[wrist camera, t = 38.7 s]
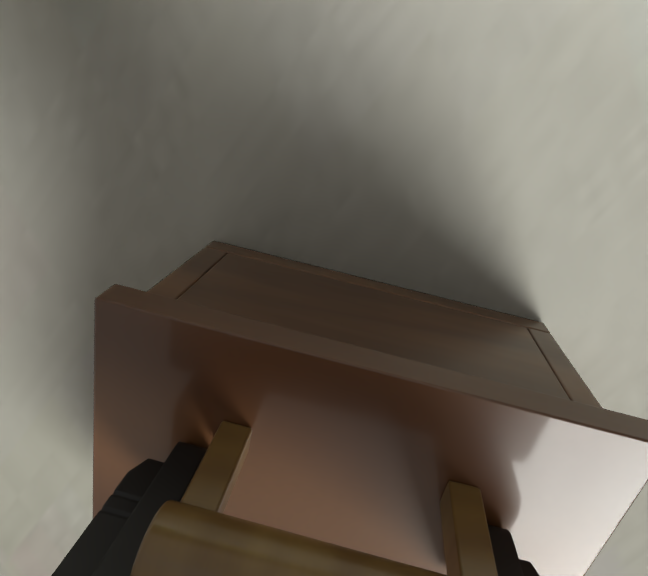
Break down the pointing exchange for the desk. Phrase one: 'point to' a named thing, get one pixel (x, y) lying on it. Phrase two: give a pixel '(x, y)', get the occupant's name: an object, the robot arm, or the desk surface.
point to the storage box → (377, 318)
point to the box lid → (345, 452)
